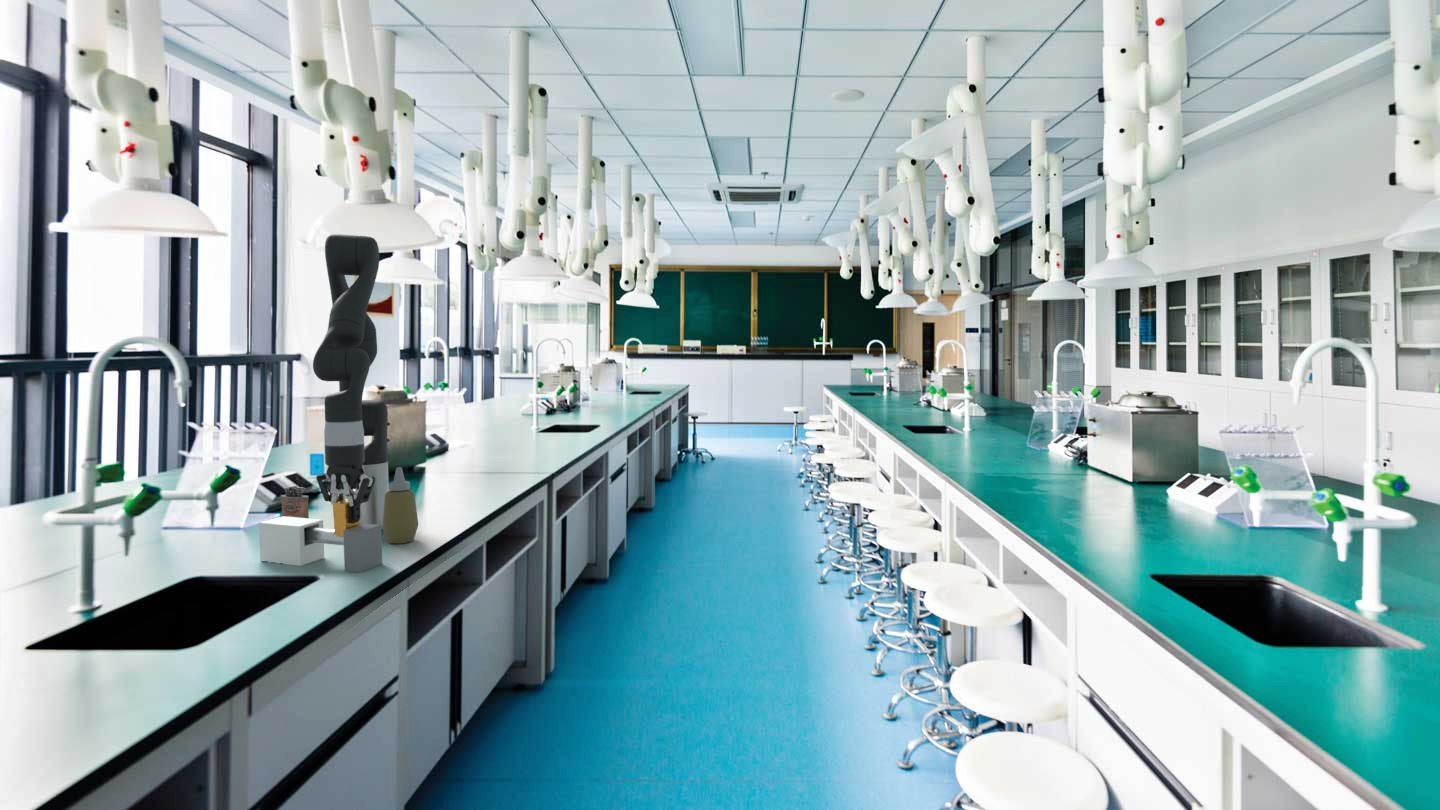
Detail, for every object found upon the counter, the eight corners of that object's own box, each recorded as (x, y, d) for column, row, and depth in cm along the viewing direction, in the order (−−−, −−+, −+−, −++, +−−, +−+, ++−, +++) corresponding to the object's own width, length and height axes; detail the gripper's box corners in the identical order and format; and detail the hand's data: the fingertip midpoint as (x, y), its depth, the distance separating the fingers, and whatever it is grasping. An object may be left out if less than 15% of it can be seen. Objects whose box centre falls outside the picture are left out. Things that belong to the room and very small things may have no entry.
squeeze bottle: (408, 535, 184) (406, 463, 183) (425, 540, 179) (423, 467, 178) (376, 541, 178) (374, 467, 176) (392, 547, 173) (390, 471, 171)
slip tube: (293, 543, 160) (292, 499, 159) (308, 538, 163) (307, 495, 163) (362, 550, 155) (360, 505, 154) (375, 545, 158) (374, 501, 158)
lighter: (278, 524, 194) (276, 486, 193) (289, 521, 197) (287, 484, 197) (302, 526, 192) (300, 488, 191) (313, 523, 195) (311, 486, 194)
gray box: (344, 570, 155) (343, 530, 154) (367, 562, 161) (365, 523, 160) (360, 572, 154) (359, 532, 153) (382, 563, 160) (381, 524, 159)
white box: (260, 561, 161) (258, 522, 160) (284, 553, 167) (283, 516, 166) (300, 565, 158) (299, 526, 157) (324, 557, 164) (323, 519, 163)
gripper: (384, 441, 158) (386, 520, 159) (331, 438, 162) (333, 515, 163) (358, 446, 151) (361, 528, 152) (303, 442, 155) (306, 523, 156)
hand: (346, 521), depth 158 cm, fingers closed on slip tube, 3 cm apart
